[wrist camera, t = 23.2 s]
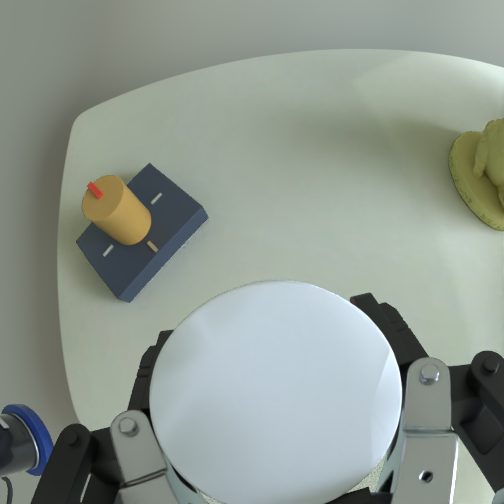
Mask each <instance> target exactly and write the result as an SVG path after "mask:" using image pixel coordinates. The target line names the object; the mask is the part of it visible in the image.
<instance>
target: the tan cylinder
mask: <svg viewBox="0 0 504 504" xmlns="http://www.w3.org/2000/svg"><path fill="white" fill-rule="evenodd" d="M87 187H88V189H87V191H86V193H85V195H84V197H83V201H82V211H83V214H84V216H85V217H86V218H87V219H88V220H89V221H91V222H92V223H93V224H95V225H96V226H97V227H99V228H100V229H101V230H103V231H104V232H105V233H107V234H108V235H110V236H111V237H112V238H114V239H115V240H116V241H118V242H119V243H121V244H123V245H133V244H136V243H138V242H140V241H141V240H142V239H143V238H144V237H145V236H146V235H147V233H148V231H149V229H150V226H151V215H150V212H149V211H148V209H147V208H146V207H145V206H144V205H143V204H142V203H141V202H140V200H139V199H138V198H137V197H136V196H135V195H134V194H133V193H132V191H131V190H130V189H129V188H128V187H127V186H126V185H125V184H124V182H123V181H122V180H121V179H120V178H119V177H117V176H115V175H106V176H103V177H101V178H99V179H97V180H96V181H95V182H93V183H92V182H90V183H89V184H88V186H87Z"/></svg>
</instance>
